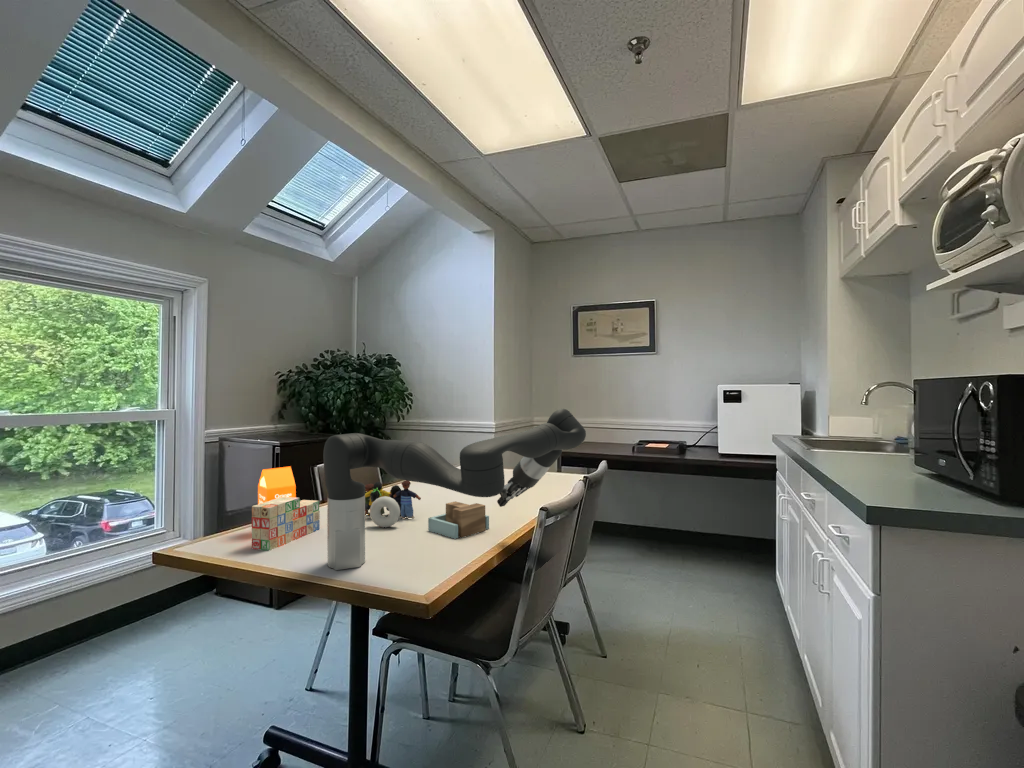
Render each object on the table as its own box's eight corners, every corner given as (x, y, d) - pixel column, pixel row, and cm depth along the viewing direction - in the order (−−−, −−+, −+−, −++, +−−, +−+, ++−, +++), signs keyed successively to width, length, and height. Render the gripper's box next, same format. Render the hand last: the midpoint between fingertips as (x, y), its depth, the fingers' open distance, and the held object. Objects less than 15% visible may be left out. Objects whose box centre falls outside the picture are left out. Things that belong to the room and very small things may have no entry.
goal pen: (489, 528, 157) (489, 516, 157) (455, 538, 146) (455, 525, 146) (462, 521, 165) (462, 509, 165) (428, 530, 154) (428, 517, 154)
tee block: (485, 530, 154) (485, 505, 154) (461, 537, 147) (461, 511, 147) (462, 524, 162) (462, 499, 162) (438, 530, 155) (438, 505, 155)
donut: (401, 526, 159) (401, 495, 159) (398, 529, 156) (398, 497, 156) (372, 525, 161) (372, 494, 161) (368, 528, 157) (367, 497, 157)
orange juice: (296, 530, 154) (296, 467, 155) (266, 537, 148) (266, 471, 148) (286, 526, 160) (286, 464, 160) (257, 531, 154) (257, 468, 154)
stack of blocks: (303, 528, 158) (303, 490, 158) (320, 529, 156) (320, 491, 156) (251, 549, 137) (251, 505, 137) (269, 551, 136) (269, 507, 136)
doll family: (424, 513, 176) (424, 476, 176) (420, 520, 167) (420, 481, 167) (359, 514, 175) (359, 476, 175) (352, 520, 166) (351, 481, 166)
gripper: (523, 481, 129) (490, 519, 137) (554, 475, 139) (521, 510, 147) (509, 459, 133) (477, 497, 141) (540, 454, 142) (509, 490, 151)
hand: (500, 503), depth 144 cm, fingers closed
